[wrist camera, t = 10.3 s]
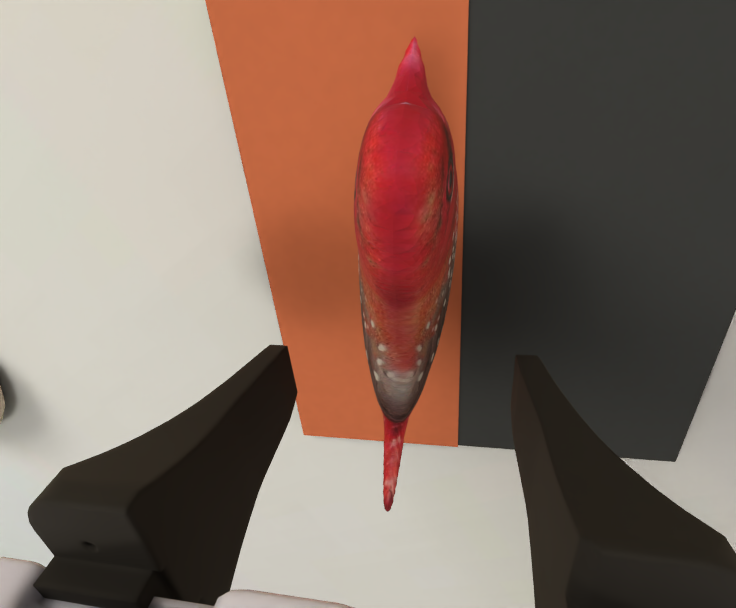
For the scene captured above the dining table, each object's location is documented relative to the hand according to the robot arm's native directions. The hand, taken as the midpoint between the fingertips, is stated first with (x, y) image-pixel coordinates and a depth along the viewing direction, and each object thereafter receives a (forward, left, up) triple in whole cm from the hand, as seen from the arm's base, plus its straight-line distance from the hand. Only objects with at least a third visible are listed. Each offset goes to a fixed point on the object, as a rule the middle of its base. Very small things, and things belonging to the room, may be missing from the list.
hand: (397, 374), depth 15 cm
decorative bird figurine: (0, 0, -7) cm, 7 cm away
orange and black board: (0, -3, -8) cm, 8 cm away
